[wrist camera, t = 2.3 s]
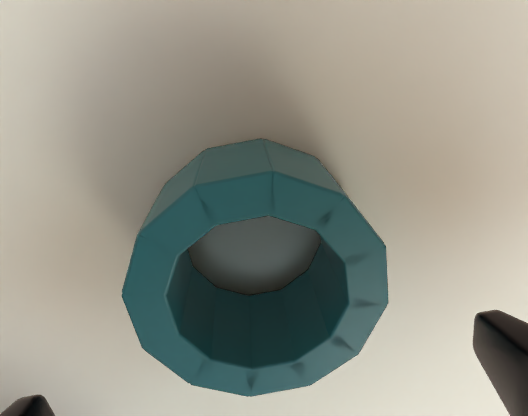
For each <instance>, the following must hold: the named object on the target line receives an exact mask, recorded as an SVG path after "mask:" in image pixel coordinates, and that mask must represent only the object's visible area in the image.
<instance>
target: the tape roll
mask: <svg viewBox="0 0 528 416" xmlns="http://www.w3.org/2000/svg"><path fill="white" fill-rule="evenodd" d="M264 216H272V217H275V218H278V219H282V220H285V221H288V222H291V223H294V224H298V225H301V226H304V227H307V228H311V229H314V230H316V232H317V233H318V234H319V235H320V239H321V244H320V246H319V248H318V250H317V252H316V254H315V256H314V258H313V261H312V263H311V265H310V267H309V269H308V270H307V271H306V272H305V273H303V274H302V275H300V276H299V277H298V278H296V279H295V280H294V281H292V282H291V283H289V284H288V285H287V286H285V287H284V288H283V289H281V290H277V291H272V292H266V293H261V294H255V295H250V296H247V295H244V294H240V293H236V292H232V291H228V290H225V289H221V288H217V287H215V286H214V285H213V284H212V283H211V282H210V281H208V280H207V279H206V278H205V277H204V276H203V275H202V274H201V273H200V272H198V271H197V270H196V269H195V268H194V267H193V265H192V262H191V258H190V255H189V251H188V248H189V247H190V246H192V245H193V244H194V243H195V242H197V241H198V240H199V239H200V238H201V237H203V236H204V235H205V234H206V233H208V232H209V231H210V230H211V229H213V228H214V227H215V226H216V225H221V224H226V223H232V222H237V221H242V220H248V219H253V218H258V217H264ZM122 298H123V301H124V303H125V306H126V308H127V311H128V313H129V316H130V318H131V321H132V323H133V326H134V328H135V331H136V333H137V336H138V339H139V341H140V344H141V346H142V348H143V349H144V350H145V351H146V352H148V353H149V354H150V355H152V356H153V357H154V358H156V359H157V360H158V361H160V362H161V363H162V364H164V365H165V366H166V367H168V368H169V369H170V370H172V371H173V372H174V373H176V374H177V375H178V376H180V377H181V378H182V379H184V380H185V381H186V382H188V383H190V384H191V385H194V386H199V387H204V388H209V389H214V390H218V391H223V392H228V393H233V394H238V395H243V396H256V395H262V394H267V393H273V392H278V391H284V390H289V389H294V388H300V387H305V386H308V385H309V386H310V385H312V384H313V383H315V382H316V381H318V380H319V379H321V378H322V377H324V376H326V375H327V374H329V373H330V372H332V371H333V370H335V369H336V368H338V367H339V366H341V365H342V364H344V363H346V362H347V361H349V360H350V359H352V358H353V357H355V356H356V355H358V354H359V352H360V351H361V349H362V347H363V346H364V344H365V342H366V340H367V339H368V337H369V335H370V334H371V332H372V330H373V328H374V327H375V325H376V323H377V322H378V320H379V318H380V317H381V315H382V313H383V311H384V310H385V308H386V306H387V304H388V283H387V260H386V246H385V245H384V242H383V241H382V240H381V238H380V237H379V236H378V235H377V233H376V232H375V231H374V229H373V228H372V227H371V226H370V224H369V223H368V222H367V220H366V219H365V218H364V217H363V215H362V214H361V213H360V211H359V210H358V209H357V208H356V206H355V205H354V204H353V202H352V201H351V200H350V199H349V197H348V196H347V195H346V194H345V192H344V191H343V190H342V189H341V187H340V186H339V185H338V183H337V182H336V181H335V180H334V178H333V177H332V176H331V175H330V173H329V172H328V171H327V170H326V168H325V167H324V166H323V165H322V163H321V162H320V161H319V160H318V159H317V158H315V157H314V156H312V155H309V154H306V153H303V152H300V151H298V150H295V149H292V148H289V147H286V146H283V145H281V144H278V143H275V142H272V141H269V140H266V139H256V140H250V141H245V142H240V143H234V144H229V145H224V146H218V147H213V148H207V149H206V150H204V151H202V152H201V153H200V154H199V155H198V156H197V157H195V158H194V159H193V160H192V161H191V162H190V163H189V164H187V165H186V166H185V167H184V168H183V169H182V170H181V171H179V172H178V173H177V174H176V175H175V176H174V177H173V178H171V179H170V180H169V181H168V182H167V183H166V184H165V185H164V187H163V188H162V190H161V192H160V194H159V195H158V197H157V199H156V201H155V203H154V205H153V206H152V208H151V210H150V212H149V214H148V216H147V218H146V219H145V221H144V223H143V225H142V227H141V229H140V230H139V232H138V234H137V237H136V241H135V244H134V248H133V252H132V255H131V259H130V263H129V267H128V270H127V274H126V278H125V282H124V285H123V289H122Z"/></svg>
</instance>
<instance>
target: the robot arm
mask: <svg viewBox="0 0 528 416" xmlns="http://www.w3.org/2000/svg"><path fill="white" fill-rule="evenodd" d="M473 348H474V351H475V354H476V356H477V358H478V359H479V361H480V363H481V365H482V367H483V368H484V370H485V372H486V374H487V375H488V377H489V379H490V381H491V382H492V384H493V386H494V388H495V389H496V391H497V393H498V395H499V397H500V398H501V400H502V402H503V404H504V405H505V407H506V409H507V411H508V412H509V414H510V416H528V323H526V322H524V321H522V320H519V319H517V318H515V317H513V316H511V315H508V314H506V313H504V312H502V311H499V310H491V311H485V312H480V313H478V314H476V316H475V319H474V333H473ZM0 416H55V415H54V413H53V411H52V409H51V407H50V406H49V404H48V402H47V400H46V399H45V397H44V396H42V395H32V396H27V397H22V398H20V399H18V400H16V401H15V402H14V403H13V404H12V405H11V406H9V407H8V408H7V409H6V410H5V411H4V412H2V413H1V414H0Z"/></svg>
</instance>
